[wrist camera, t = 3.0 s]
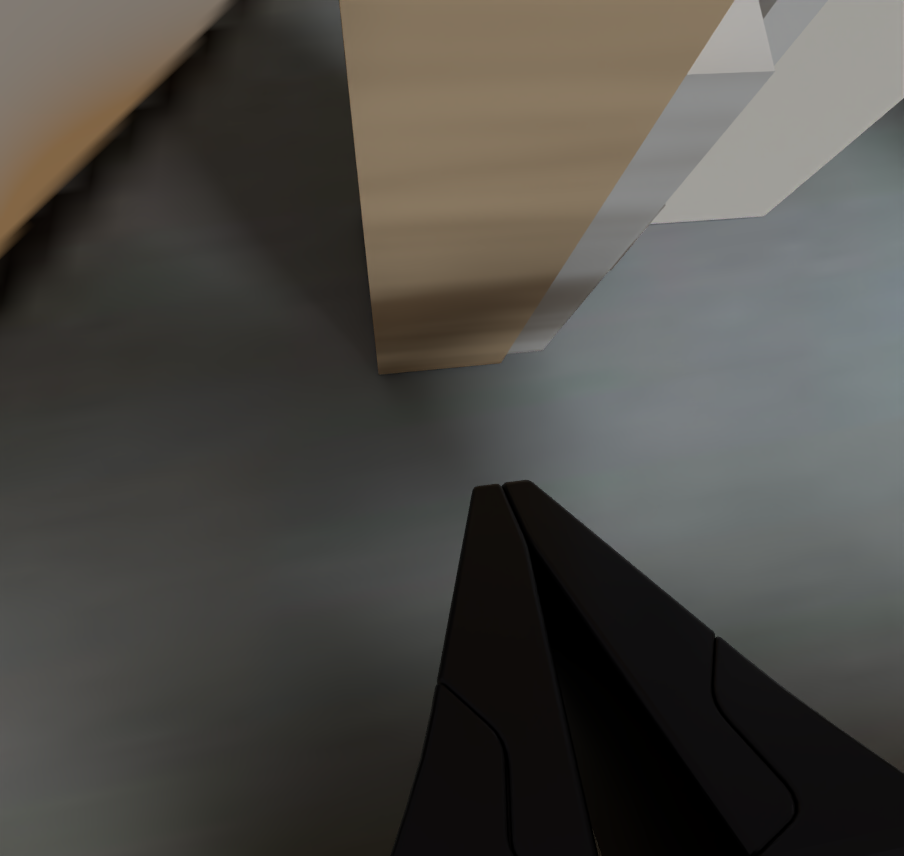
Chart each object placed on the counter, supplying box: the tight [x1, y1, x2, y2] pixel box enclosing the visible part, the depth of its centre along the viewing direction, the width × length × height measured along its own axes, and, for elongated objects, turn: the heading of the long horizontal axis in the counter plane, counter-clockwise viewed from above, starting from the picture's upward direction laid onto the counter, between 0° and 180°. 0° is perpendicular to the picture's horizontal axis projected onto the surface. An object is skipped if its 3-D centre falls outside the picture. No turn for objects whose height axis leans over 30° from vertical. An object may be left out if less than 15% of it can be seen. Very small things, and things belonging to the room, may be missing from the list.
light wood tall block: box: [339, 0, 775, 375], centre depth 11 cm, size 5×7×12 cm
